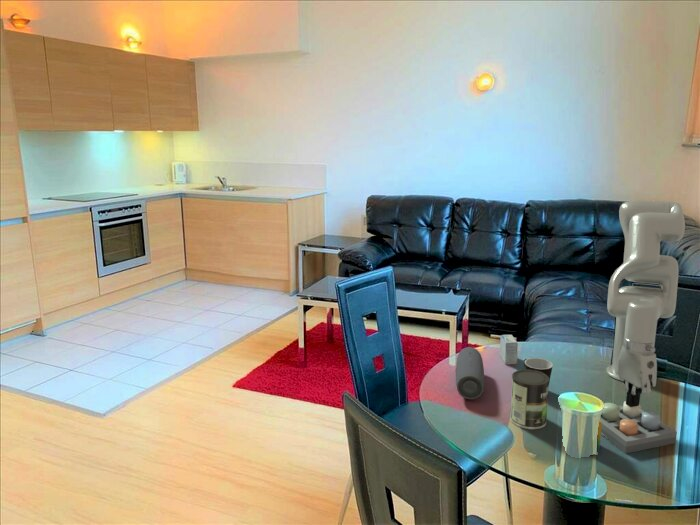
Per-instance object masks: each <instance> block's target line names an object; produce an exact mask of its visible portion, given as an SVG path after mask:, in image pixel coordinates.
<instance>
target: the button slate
mask: <svg viewBox="0 0 700 525" xmlns="http://www.w3.org/2000/svg"><path fill="white" fill-rule="evenodd" d="M660 421H661V415H660V414H659V413H657V412H654V411H651V410H644V412H642V419H641V425H642V426H643V427H644V428H647V429H650V430H657V429H659V425H660Z"/></svg>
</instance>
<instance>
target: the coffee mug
mask: <svg viewBox="0 0 700 525" xmlns="http://www.w3.org/2000/svg"><path fill="white" fill-rule="evenodd" d="M523 365H524V369H529V370H536V371H540V372H542V373H544V374H546V375H547V376H548V377H549V379H550V380H551V378H552V377H551V376H552V371H553V367H554V365H553V362H551V361H550V360H548V359H545V358H540V357H530V358H525V359H524V360H523ZM550 380H549V383H550Z"/></svg>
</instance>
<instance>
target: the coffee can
mask: <svg viewBox="0 0 700 525" xmlns="http://www.w3.org/2000/svg"><path fill="white" fill-rule="evenodd" d="M511 379H512V380H511V381H512V382H511V403H510V404H511V405H510V406H511V408H510V421H511V423H513V424H514V425H515V426H517V427H519V428H522V429H524V430H525V429H526V430H540V429H542V428H544V427H546V425H547V419H548V417H547V416H548V403H549V402H548V400H549V386H550V382H549V380H551V378H550V379H549V377H548V376H547V375H546V374H544V373H542V372H540V371H536V370H529V369H525V368H524V369H519V370H515V371H513V373H512V374H511Z"/></svg>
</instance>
